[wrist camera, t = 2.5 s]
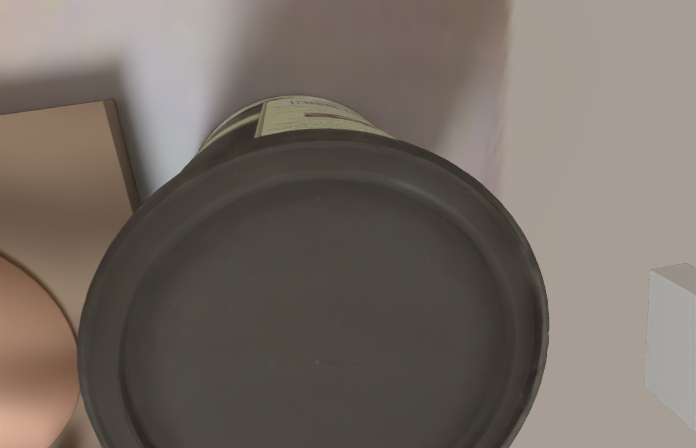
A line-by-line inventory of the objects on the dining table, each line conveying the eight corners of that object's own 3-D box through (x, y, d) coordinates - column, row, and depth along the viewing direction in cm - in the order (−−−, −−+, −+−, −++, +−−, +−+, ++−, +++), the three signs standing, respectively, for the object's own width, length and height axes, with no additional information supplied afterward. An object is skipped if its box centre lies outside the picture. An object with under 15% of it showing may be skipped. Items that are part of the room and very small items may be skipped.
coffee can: (222, 329, 26) (165, 606, 13) (155, 123, 23) (-13, 201, 10) (422, 278, 27) (570, 491, 13) (384, 71, 24) (529, 77, 10)
